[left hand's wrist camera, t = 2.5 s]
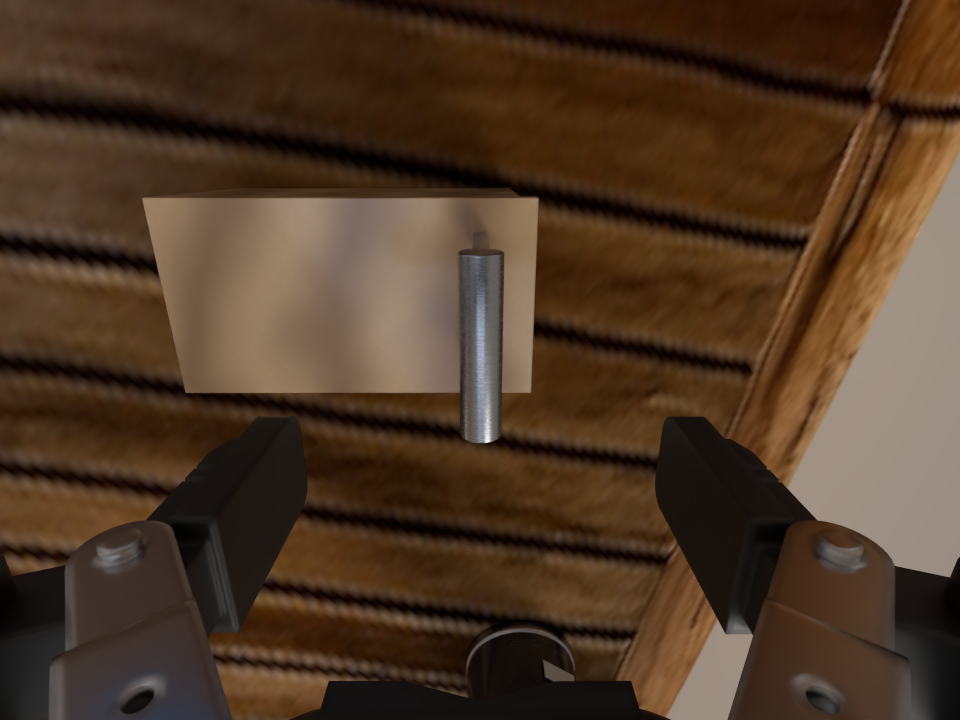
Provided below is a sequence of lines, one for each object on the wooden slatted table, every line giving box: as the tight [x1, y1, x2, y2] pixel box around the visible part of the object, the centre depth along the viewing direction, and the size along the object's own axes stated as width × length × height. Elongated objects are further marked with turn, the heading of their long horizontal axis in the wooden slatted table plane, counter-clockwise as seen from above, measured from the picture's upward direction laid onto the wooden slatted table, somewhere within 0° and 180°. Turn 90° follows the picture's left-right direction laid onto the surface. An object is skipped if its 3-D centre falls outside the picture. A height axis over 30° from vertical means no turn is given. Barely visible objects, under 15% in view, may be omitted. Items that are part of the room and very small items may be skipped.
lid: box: [142, 197, 538, 443], centre depth 21 cm, size 17×9×8 cm, turn 90°
